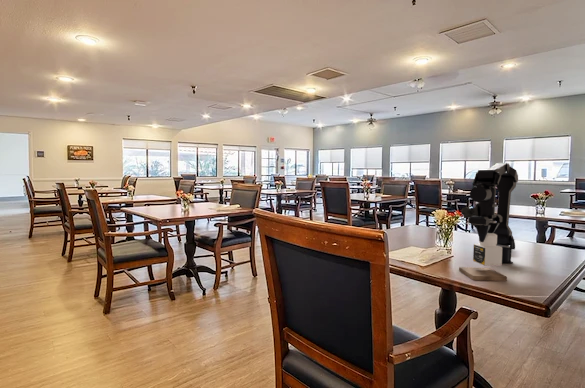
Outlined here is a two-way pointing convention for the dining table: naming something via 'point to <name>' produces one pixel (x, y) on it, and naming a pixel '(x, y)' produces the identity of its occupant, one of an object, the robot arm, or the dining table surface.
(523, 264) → the dining table surface
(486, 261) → the medicine bottle
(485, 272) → the walnut pad
